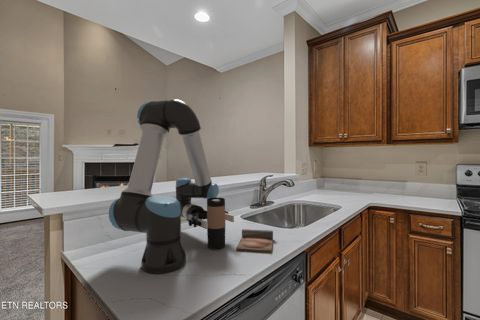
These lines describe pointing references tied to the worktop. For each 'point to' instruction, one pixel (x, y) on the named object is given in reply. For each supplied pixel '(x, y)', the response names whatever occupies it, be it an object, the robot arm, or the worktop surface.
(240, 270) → the worktop surface
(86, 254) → the worktop surface
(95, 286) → the worktop surface
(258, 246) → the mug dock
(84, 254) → the worktop surface
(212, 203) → the travel mug
